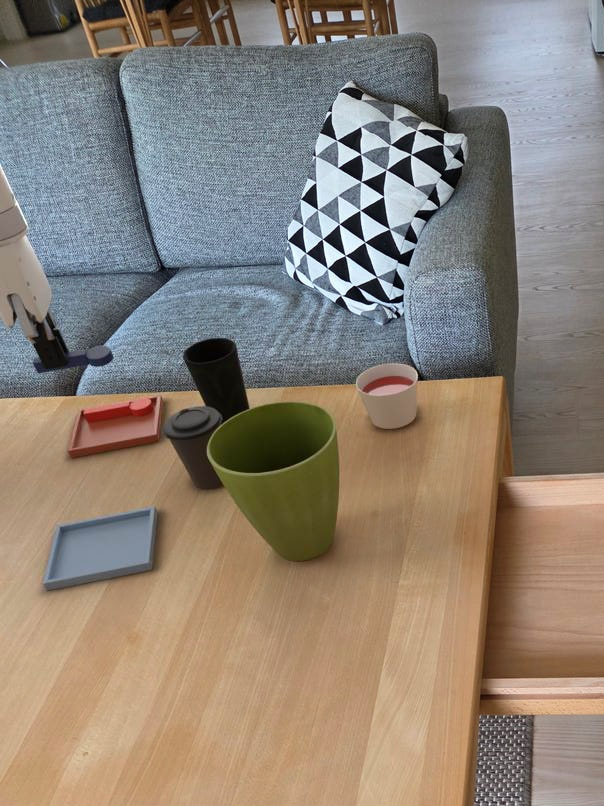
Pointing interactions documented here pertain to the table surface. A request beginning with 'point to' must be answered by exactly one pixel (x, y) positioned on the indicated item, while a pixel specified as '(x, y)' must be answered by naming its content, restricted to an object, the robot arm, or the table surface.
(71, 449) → the red tray
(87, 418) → the red spoon
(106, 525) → the blue tray
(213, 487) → the coffee cup
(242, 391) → the cup
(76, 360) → the blue spoon
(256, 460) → the flower pot
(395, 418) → the candle
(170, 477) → the table surface
